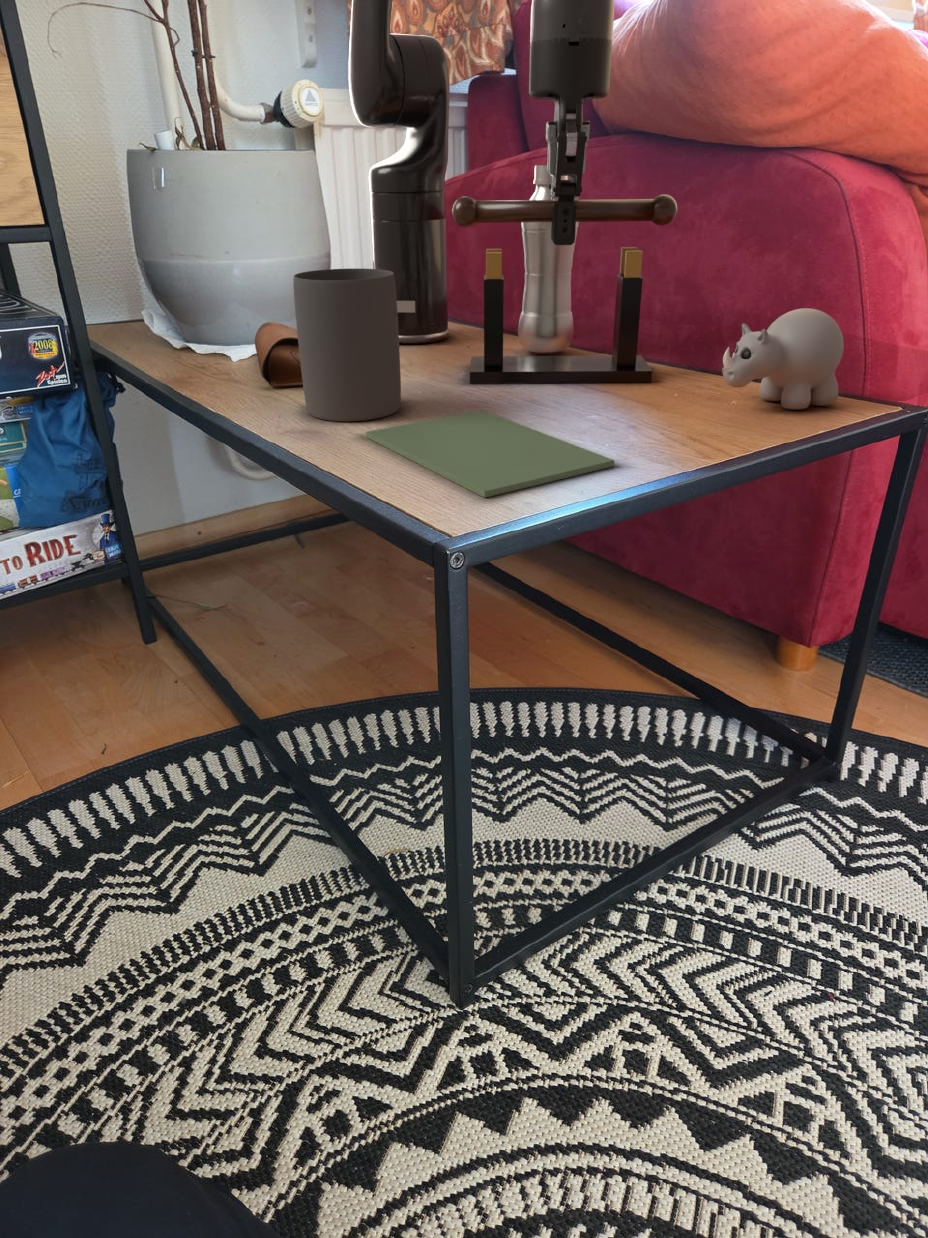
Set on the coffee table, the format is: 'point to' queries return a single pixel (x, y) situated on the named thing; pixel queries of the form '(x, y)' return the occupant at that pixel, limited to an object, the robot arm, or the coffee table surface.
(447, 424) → the mat
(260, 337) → the sunglasses case
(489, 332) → the rack
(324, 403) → the mug
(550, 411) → the coffee table surface
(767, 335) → the toy rhinoceros
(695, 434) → the coffee table surface
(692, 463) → the coffee table surface
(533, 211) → the knobbed wooden handle
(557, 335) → the silver metal bottle
